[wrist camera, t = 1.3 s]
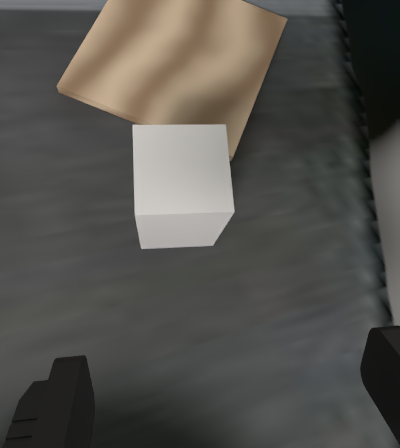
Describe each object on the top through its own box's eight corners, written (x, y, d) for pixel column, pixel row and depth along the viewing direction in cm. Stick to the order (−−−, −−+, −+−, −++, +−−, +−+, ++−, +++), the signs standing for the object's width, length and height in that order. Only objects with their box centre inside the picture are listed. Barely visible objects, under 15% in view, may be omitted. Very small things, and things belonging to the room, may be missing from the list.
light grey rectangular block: (141, 248, 33) (135, 215, 24) (139, 181, 35) (132, 124, 25) (212, 245, 34) (234, 212, 25) (207, 179, 36) (225, 124, 26)
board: (59, 92, 37) (56, 86, 36) (134, -35, 42) (133, -43, 41) (231, 161, 37) (233, 156, 36) (284, 25, 42) (287, 18, 41)
